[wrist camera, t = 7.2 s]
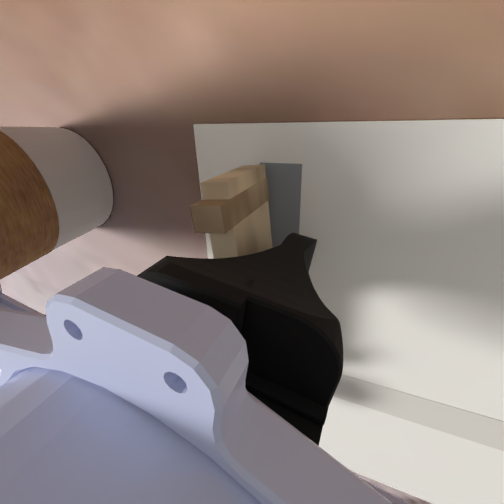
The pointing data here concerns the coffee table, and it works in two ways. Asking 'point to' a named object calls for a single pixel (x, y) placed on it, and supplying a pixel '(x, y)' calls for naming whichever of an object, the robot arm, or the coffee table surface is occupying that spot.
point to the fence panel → (235, 212)
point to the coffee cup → (47, 192)
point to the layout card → (397, 286)
